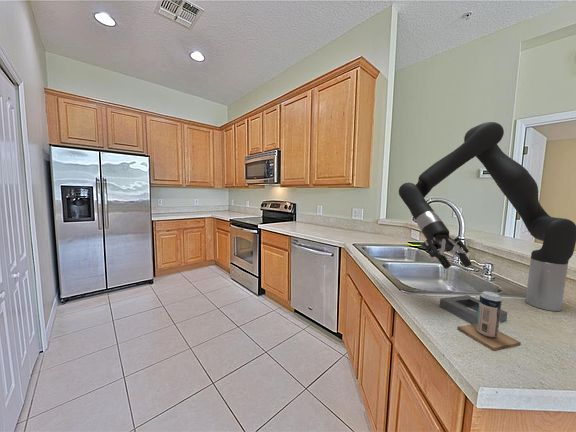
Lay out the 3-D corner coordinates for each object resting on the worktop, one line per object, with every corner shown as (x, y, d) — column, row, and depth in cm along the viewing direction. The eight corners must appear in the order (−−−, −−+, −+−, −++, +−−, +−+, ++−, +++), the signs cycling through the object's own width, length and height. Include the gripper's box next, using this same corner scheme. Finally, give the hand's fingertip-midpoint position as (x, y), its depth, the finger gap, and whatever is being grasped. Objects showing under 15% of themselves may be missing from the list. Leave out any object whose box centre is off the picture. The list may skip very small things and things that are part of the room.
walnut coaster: (482, 325, 74) (482, 322, 74) (520, 345, 64) (520, 342, 64) (457, 329, 71) (457, 326, 71) (493, 350, 62) (493, 347, 62)
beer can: (501, 339, 65) (506, 298, 64) (482, 337, 66) (486, 296, 65) (490, 330, 70) (495, 291, 69) (472, 327, 71) (476, 289, 69)
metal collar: (467, 302, 89) (467, 295, 89) (506, 321, 76) (507, 312, 76) (439, 306, 86) (440, 298, 85) (476, 326, 73) (477, 316, 73)
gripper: (422, 220, 81) (449, 262, 71) (454, 219, 85) (484, 259, 75) (409, 232, 87) (433, 273, 77) (440, 231, 90) (466, 270, 81)
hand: (458, 266), depth 76 cm, fingers open, 8 cm apart
